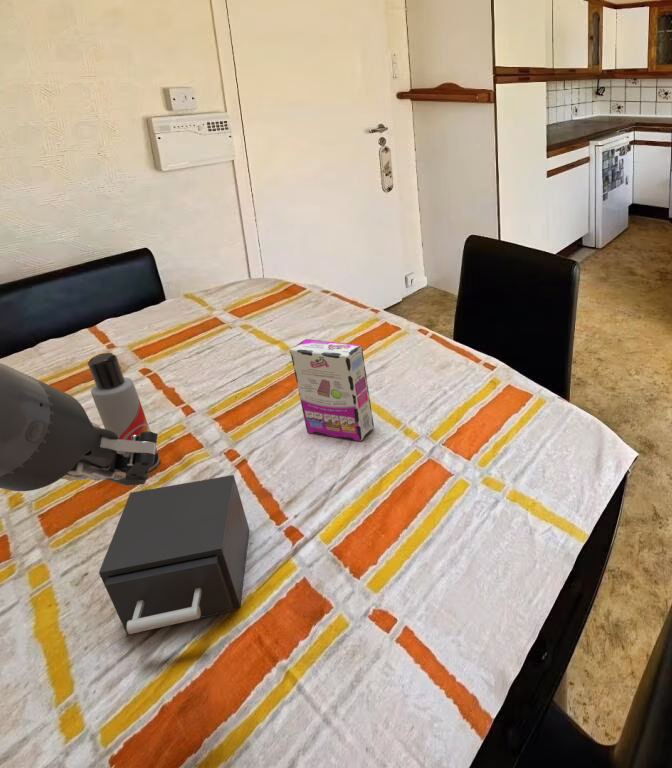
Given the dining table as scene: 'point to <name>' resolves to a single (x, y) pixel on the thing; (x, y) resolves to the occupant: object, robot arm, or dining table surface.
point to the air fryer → (182, 530)
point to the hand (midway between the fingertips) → (138, 473)
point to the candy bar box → (333, 388)
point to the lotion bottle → (117, 399)
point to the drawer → (169, 594)
